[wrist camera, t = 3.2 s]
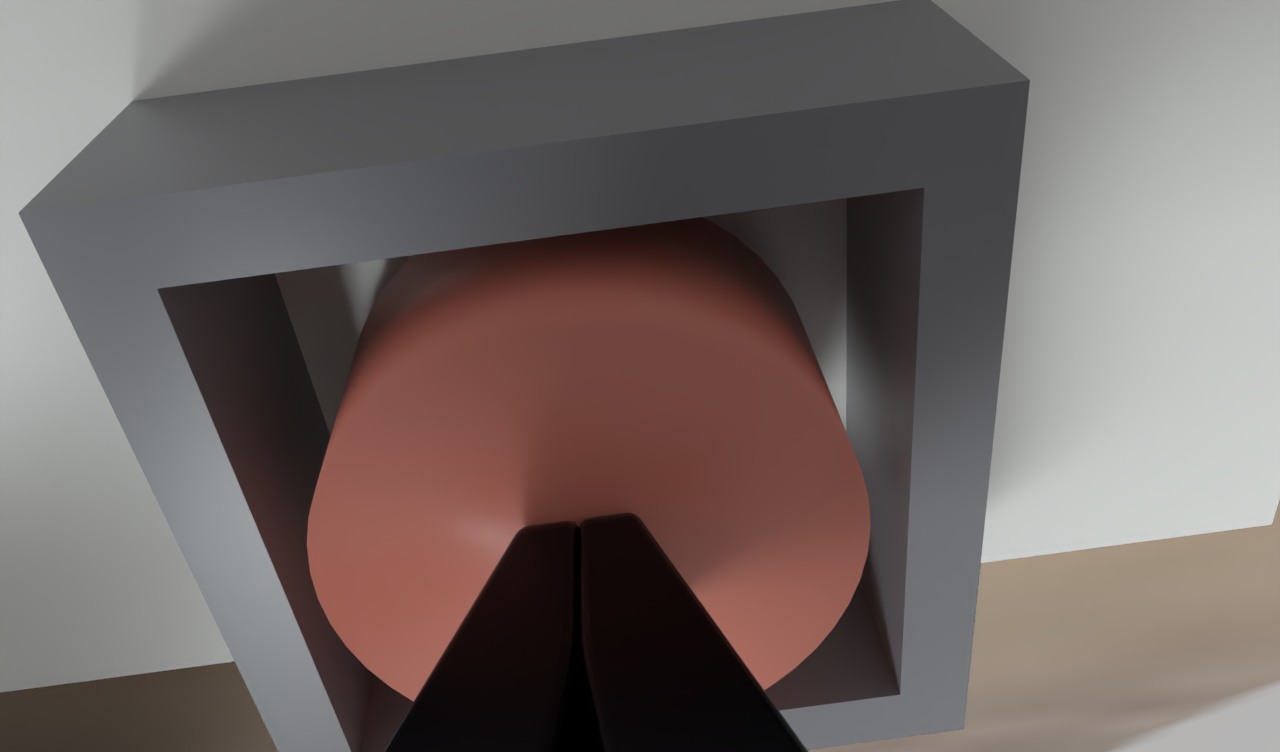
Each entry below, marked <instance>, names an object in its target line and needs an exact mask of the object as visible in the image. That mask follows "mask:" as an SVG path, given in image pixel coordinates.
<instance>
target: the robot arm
mask: <svg viewBox="0 0 1280 752" xmlns="http://www.w3.org/2000/svg"><path fill="white" fill-rule="evenodd" d="M383 752H808V750H807V749H806V747H805V746H804V745H803V743H802V742H801V740H800V739H799V738H798V736H797V735H796V734H795V732H794V731H793V729H792V728H791V727H790V725H789V724H788V722H787V721H786V720H785V718H784V717H783V716H782V714H781V713H780V711H779V710H778V709H777V707H776V706H775V704H774V703H773V702H772V700H771V699H770V697H769V696H768V695H767V693H766V692H765V691H764V689H763V688H762V686H761V685H760V684H759V682H758V681H757V679H756V678H755V677H754V675H753V674H752V672H751V671H750V670H749V668H748V667H747V666H746V664H745V663H744V661H743V660H742V659H741V657H740V656H739V654H738V653H737V652H736V650H735V649H734V648H733V646H732V645H731V643H730V642H729V641H728V639H727V638H726V636H725V635H724V634H723V632H722V631H721V629H720V628H719V627H718V625H717V624H716V623H715V621H714V620H713V618H712V617H711V616H710V614H709V613H708V611H707V610H706V609H705V607H704V606H703V604H702V603H701V602H700V600H699V599H698V598H697V596H696V595H695V593H694V592H693V591H692V589H691V588H690V586H689V585H688V584H687V582H686V581H685V580H684V578H683V577H682V575H681V574H680V573H679V571H678V570H677V568H676V567H675V566H674V564H673V563H672V561H671V560H670V559H669V557H668V556H667V555H666V553H665V552H664V550H663V549H662V548H661V546H660V545H659V543H658V542H657V541H656V539H655V538H654V536H653V535H652V534H651V532H650V531H649V530H648V528H647V527H646V525H645V524H644V523H643V521H642V520H641V519H640V518H639V517H638V516H637V515H635V514H633V513H622V514H614V515H607V516H599V517H592V518H587V519H585V520H584V521H582V522H581V525H580V527H579V528H578V527H577V525H576V524H575V523H574V522H571V521H561V522H554V523H546V524H539V525H531V526H526V527H523V528H522V529H520V530H519V531H518V532H517V533H516V534H515V536H514V538H513V539H512V541H511V542H510V544H509V546H508V547H507V549H506V551H505V552H504V554H503V556H502V557H501V559H500V561H499V562H498V564H497V565H496V567H495V569H494V570H493V572H492V574H491V575H490V577H489V579H488V580H487V582H486V584H485V585H484V587H483V588H482V590H481V592H480V593H479V595H478V597H477V598H476V600H475V602H474V603H473V605H472V607H471V608H470V610H469V611H468V613H467V615H466V616H465V618H464V620H463V621H462V623H461V625H460V626H459V628H458V630H457V631H456V633H455V634H454V636H453V638H452V639H451V641H450V643H449V644H448V646H447V648H446V649H445V651H444V653H443V654H442V656H441V657H440V659H439V661H438V662H437V664H436V666H435V667H434V669H433V671H432V672H431V674H430V676H429V677H428V679H427V680H426V682H425V684H424V685H423V687H422V689H421V690H420V692H419V694H418V695H417V697H416V699H415V700H414V702H413V703H412V705H411V707H410V708H409V710H408V712H407V713H406V715H405V717H404V718H403V720H402V722H401V723H400V725H399V726H398V728H397V730H396V731H395V733H394V735H393V736H392V738H391V740H390V741H389V743H388V745H387V746H386V748H385V749H384V751H383Z"/></svg>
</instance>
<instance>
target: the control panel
mask: <svg viewBox="0 0 1280 752" xmlns="http://www.w3.org/2000/svg"><path fill="white" fill-rule="evenodd" d="M698 217H703V218H705V219H707V220H710V221H712V222H713V223H715V224H716V225H718V226H719V227H721V228H723V229H724V230H726V231H727V232H729V233H730V234H732V235H734V236H735V237H737V238H738V239H739V240H740V241H741V242H743V243H744V244H745V245H746V246H747V247H749V248H750V249H751V250H752V251H753V252H754V253H756V254H757V255H758V256H759V257H760V258H761V259H762V260H763V261H764V263H765V264H766V265H767V266H768V267H769V268H770V269H771V271H772V272H773V273H774V274H775V275H776V276H777V277H778V279H779V280H780V282H781V284H782V285H783V287H784V288H785V290H786V291H787V293H788V294H789V296H790V298H791V299H792V301H793V303H794V305H795V308H796V310H797V312H798V314H799V317H800V319H801V321H802V323H803V326H804V328H805V331H806V333H807V336H808V338H809V341H810V343H811V346H812V348H813V351H814V353H815V356H816V358H817V361H818V363H819V366H820V368H821V371H822V373H823V376H824V378H825V381H826V383H827V385H828V388H829V390H830V393H831V395H832V398H833V400H834V403H835V405H836V408H837V410H838V413H839V415H840V418H841V420H842V423H843V425H844V428H845V430H846V433H847V435H848V438H849V440H850V443H851V445H852V448H853V450H854V453H855V455H856V458H857V460H858V462H859V465H860V467H861V470H862V473H863V477H864V481H865V485H866V489H867V493H868V497H869V508H870V523H871V528H870V537H869V547H868V554H867V558H866V561H865V565H864V568H863V572H862V576H861V579H860V581H859V583H858V586H857V588H856V590H855V592H854V594H853V597H852V599H851V601H850V603H849V605H848V607H847V608H846V610H845V611H844V613H843V614H842V616H841V617H840V619H839V621H838V622H837V624H836V625H835V627H834V628H833V629H832V630H831V632H830V633H829V634H828V635H827V636H826V638H825V639H824V640H823V641H822V642H821V643H820V645H819V646H818V647H817V648H816V649H815V650H814V651H813V652H812V653H811V654H810V655H809V656H808V657H807V658H806V659H804V660H803V661H802V662H801V663H800V664H799V665H798V666H797V667H796V668H795V669H793V670H792V671H791V672H789V673H788V674H787V675H785V676H784V677H783V678H781V679H780V680H779V681H777V682H776V683H774V684H773V685H772V686H770V687H769V688H767V689H765V690H764V691H765V692H766V693H767V695H768V696H769V697H770V699H771V700H772V702H773V703H774V704H775V706H776V707H777V709H778V710H779V711H780V713H781V714H782V716H783V717H784V718H785V720H786V721H787V722H788V724H789V725H790V727H791V728H792V729H793V731H794V732H795V734H796V735H797V736H798V738H799V739H800V740H801V742H802V743H803V745H804V746H805V747H806V749H807V750H810V749H818V748H825V747H833V746H840V745H848V744H855V743H863V742H870V741H878V740H886V739H893V738H901V737H908V736H916V735H923V734H931V733H938V732H946V731H954V730H961V729H964V721H965V711H966V702H967V692H968V682H969V672H970V663H971V653H972V643H973V633H974V623H975V614H976V604H977V594H978V584H979V575H980V565H981V563H984V562H992V561H999V560H1007V559H1015V558H1022V557H1030V556H1037V555H1045V554H1052V553H1060V552H1068V551H1075V550H1083V549H1090V548H1098V547H1105V546H1113V545H1120V544H1128V543H1136V542H1143V541H1151V540H1158V539H1166V538H1173V537H1181V536H1189V535H1196V534H1204V533H1211V532H1219V531H1226V530H1234V529H1242V528H1249V527H1257V526H1264V525H1272V522H1273V519H1274V515H1275V512H1276V509H1277V506H1278V502H1279V499H1280V0H0V692H8V691H15V690H23V689H30V688H38V687H46V686H53V685H61V684H68V683H76V682H83V681H91V680H99V679H106V678H114V677H121V676H129V675H136V674H144V673H152V672H159V671H167V670H174V669H182V668H189V667H197V666H205V665H212V664H220V663H227V662H235V663H236V665H237V667H238V670H239V672H240V674H241V676H242V678H243V680H244V682H245V684H246V686H247V688H248V690H249V692H250V694H251V696H252V699H253V701H254V703H255V705H256V707H257V709H258V711H259V713H260V715H261V717H262V719H263V721H264V723H265V725H266V728H267V730H268V732H269V734H270V736H271V738H272V740H273V742H274V744H275V746H276V748H277V750H278V752H383V751H384V749H385V748H386V746H387V745H388V743H389V741H390V740H391V738H392V736H393V735H394V733H395V731H396V730H397V728H398V726H399V725H400V723H401V722H402V720H403V718H404V717H405V715H406V713H407V712H408V710H409V708H410V707H411V705H412V703H413V701H412V700H410V699H408V698H407V697H405V696H404V695H402V694H401V693H399V692H397V691H396V690H394V689H393V688H391V687H390V686H388V685H387V684H386V683H384V682H383V681H382V680H381V679H380V678H378V677H377V676H376V675H375V674H373V673H372V672H371V671H370V670H368V669H367V668H366V667H365V666H364V665H363V664H362V663H361V662H360V661H359V660H358V658H357V657H356V656H355V655H354V654H353V653H352V652H351V651H350V650H349V649H348V648H347V647H346V645H345V644H344V643H343V641H342V640H341V638H340V637H339V636H338V634H337V633H336V631H335V630H334V628H333V627H332V626H331V624H330V622H329V620H328V618H327V616H326V614H325V612H324V610H323V608H322V606H321V604H320V602H319V600H318V597H317V594H316V591H315V588H314V584H313V581H312V578H311V574H310V569H309V560H308V551H307V533H308V517H309V512H310V508H311V504H312V500H313V496H314V492H315V488H316V485H317V481H318V478H319V475H320V471H321V468H322V464H323V461H324V457H325V454H326V451H327V447H328V444H329V440H330V437H331V434H332V430H333V427H334V423H335V420H336V416H337V413H338V410H339V406H340V403H341V399H342V396H343V392H344V389H345V386H346V382H347V379H348V375H349V372H350V369H351V365H352V362H353V358H354V355H355V351H356V348H357V345H358V341H359V338H360V334H361V331H362V329H363V327H364V324H365V322H366V320H367V318H368V315H369V313H370V311H371V308H372V306H373V305H374V303H375V302H376V300H377V299H378V297H379V295H380V294H381V292H382V291H383V289H384V287H385V286H386V284H387V283H388V282H389V281H390V279H391V278H392V277H393V276H394V275H395V274H396V273H397V271H398V270H399V269H400V268H401V267H402V266H403V264H404V263H405V262H406V261H407V260H408V259H409V258H411V257H412V256H413V255H417V254H425V253H432V252H440V251H447V250H455V249H463V248H470V247H478V246H485V245H493V244H501V243H508V242H516V241H523V240H531V239H539V238H546V237H554V236H561V235H569V234H577V233H584V232H592V231H600V230H607V229H615V228H622V227H630V226H638V225H645V224H653V223H660V222H668V221H676V220H683V219H691V218H698Z"/></svg>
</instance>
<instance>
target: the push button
mask: <svg viewBox="0 0 1280 752" xmlns="http://www.w3.org/2000/svg"><path fill="white" fill-rule="evenodd" d="M622 513H633V514H635V515H637V516H638V517H639V518H640V519H641V520H642V521H643V523H644V524H645V525H646V527H647V528H648V530H649V531H650V532H651V534H652V535H653V536H654V538H655V539H656V541H657V542H658V543H659V545H660V546H661V548H662V549H663V550H664V552H665V553H666V555H667V556H668V557H669V559H670V560H671V561H672V563H673V564H674V566H675V567H676V568H677V570H678V571H679V573H680V574H681V575H682V577H683V578H684V580H685V581H686V582H687V584H688V585H689V586H690V588H691V589H692V591H693V592H694V593H695V595H696V596H697V598H698V599H699V600H700V602H701V603H702V604H703V606H704V607H705V609H706V610H707V611H708V613H709V614H710V616H711V617H712V618H713V620H714V621H715V623H716V624H717V625H718V627H719V628H720V629H721V631H722V632H723V634H724V635H725V636H726V638H727V639H728V641H729V642H730V643H731V645H732V646H733V648H734V649H735V650H736V652H737V653H738V654H739V656H740V657H741V659H742V660H743V661H744V663H745V664H746V666H747V667H748V668H749V670H750V671H751V672H752V674H753V675H754V677H755V678H756V679H757V681H758V682H759V684H760V685H761V686H762V688H763V689H764V690H765V689H767V688H769V687H770V686H772V685H773V684H774V683H776V682H777V681H779V680H780V679H781V678H783V677H784V676H785V675H787V674H788V673H789V672H791V671H792V670H793V669H795V668H796V667H797V666H798V665H799V664H800V663H801V662H802V661H803V660H804V659H806V658H807V657H808V656H809V655H810V654H811V653H812V652H813V651H814V650H815V649H816V648H817V647H818V646H819V645H820V643H821V642H822V641H823V640H824V639H825V638H826V636H827V635H828V634H829V633H830V632H831V630H832V629H833V628H834V627H835V625H836V624H837V622H838V621H839V619H840V617H841V616H842V614H843V613H844V611H845V610H846V608H847V607H848V605H849V603H850V601H851V599H852V597H853V594H854V592H855V590H856V588H857V586H858V583H859V581H860V579H861V576H862V572H863V568H864V565H865V561H866V558H867V554H868V547H869V537H870V528H871V523H870V508H869V497H868V493H867V489H866V485H865V481H864V477H863V473H862V470H861V467H860V465H859V462H858V460H857V458H856V455H855V453H854V450H853V448H852V445H851V443H850V440H849V438H848V435H847V433H846V430H845V428H844V425H843V423H842V420H841V418H840V415H839V413H838V410H837V408H836V405H835V403H834V400H833V398H832V395H831V393H830V390H829V388H828V385H827V383H826V381H825V378H824V376H823V373H822V371H821V368H820V366H819V363H818V361H817V358H816V356H815V353H814V351H813V348H812V346H811V343H810V341H809V338H808V336H807V333H806V331H805V328H804V326H803V323H802V321H801V319H800V317H799V314H798V312H797V310H796V308H795V305H794V303H793V301H792V299H791V298H790V296H789V294H788V293H787V291H786V290H785V288H784V287H783V285H782V284H781V282H780V280H779V279H778V277H777V276H776V275H775V274H774V273H773V272H772V271H771V269H770V268H769V267H768V266H767V265H766V264H765V263H764V261H763V260H762V259H761V258H760V257H759V256H758V255H757V254H756V253H754V252H753V251H752V250H751V249H750V248H749V247H747V246H746V245H745V244H744V243H743V242H741V241H740V240H739V239H738V238H737V237H735V236H734V235H732V234H730V233H729V232H727V231H726V230H724V229H723V228H721V227H719V226H718V225H716V224H715V223H713V222H712V221H710V220H707V219H705V218H703V217H698V218H691V219H683V220H676V221H668V222H660V223H653V224H645V225H638V226H630V227H622V228H615V229H607V230H600V231H592V232H584V233H577V234H569V235H561V236H554V237H546V238H539V239H531V240H523V241H516V242H508V243H501V244H493V245H485V246H478V247H470V248H463V249H455V250H447V251H440V252H432V253H425V254H417V255H413V256H412V257H411V258H409V259H408V260H407V261H406V262H405V263H404V264H403V266H402V267H401V268H400V269H399V270H398V271H397V273H396V274H395V275H394V276H393V277H392V278H391V279H390V281H389V282H388V283H387V284H386V286H385V287H384V289H383V291H382V292H381V294H380V295H379V297H378V299H377V300H376V302H375V303H374V305H373V306H372V308H371V311H370V313H369V315H368V318H367V320H366V322H365V324H364V327H363V329H362V331H361V334H360V338H359V341H358V345H357V348H356V351H355V355H354V358H353V362H352V365H351V369H350V372H349V375H348V379H347V382H346V386H345V389H344V392H343V396H342V399H341V403H340V406H339V410H338V413H337V416H336V420H335V423H334V427H333V430H332V434H331V437H330V440H329V444H328V447H327V451H326V454H325V457H324V461H323V464H322V468H321V471H320V475H319V478H318V481H317V485H316V488H315V492H314V496H313V500H312V504H311V508H310V512H309V517H308V533H307V551H308V560H309V569H310V574H311V578H312V581H313V584H314V588H315V591H316V594H317V597H318V600H319V602H320V604H321V606H322V608H323V610H324V612H325V614H326V616H327V618H328V620H329V622H330V624H331V626H332V627H333V628H334V630H335V631H336V633H337V634H338V636H339V637H340V638H341V640H342V641H343V643H344V644H345V645H346V647H347V648H348V649H349V650H350V651H351V652H352V653H353V654H354V655H355V656H356V657H357V658H358V660H359V661H360V662H361V663H362V664H363V665H364V666H365V667H366V668H367V669H368V670H370V671H371V672H372V673H373V674H375V675H376V676H377V677H378V678H380V679H381V680H382V681H383V682H384V683H386V684H387V685H388V686H390V687H391V688H393V689H394V690H396V691H397V692H399V693H401V694H402V695H404V696H405V697H407V698H408V699H410V700H412V701H413V702H414V700H415V699H416V697H417V695H418V694H419V692H420V690H421V689H422V687H423V685H424V684H425V682H426V680H427V679H428V677H429V676H430V674H431V672H432V671H433V669H434V667H435V666H436V664H437V662H438V661H439V659H440V657H441V656H442V654H443V653H444V651H445V649H446V648H447V646H448V644H449V643H450V641H451V639H452V638H453V636H454V634H455V633H456V631H457V630H458V628H459V626H460V625H461V623H462V621H463V620H464V618H465V616H466V615H467V613H468V611H469V610H470V608H471V607H472V605H473V603H474V602H475V600H476V598H477V597H478V595H479V593H480V592H481V590H482V588H483V587H484V585H485V584H486V582H487V580H488V579H489V577H490V575H491V574H492V572H493V570H494V569H495V567H496V565H497V564H498V562H499V561H500V559H501V557H502V556H503V554H504V552H505V551H506V549H507V547H508V546H509V544H510V542H511V541H512V539H513V538H514V536H515V534H516V533H517V532H518V531H519V530H520V529H522V528H523V527H526V526H531V525H539V524H546V523H554V522H561V521H571V522H574V523H575V524H576V525H577V527H578V528H579V527H580V525H581V522H582V521H584V520H585V519H587V518H592V517H599V516H607V515H614V514H622Z"/></svg>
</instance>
